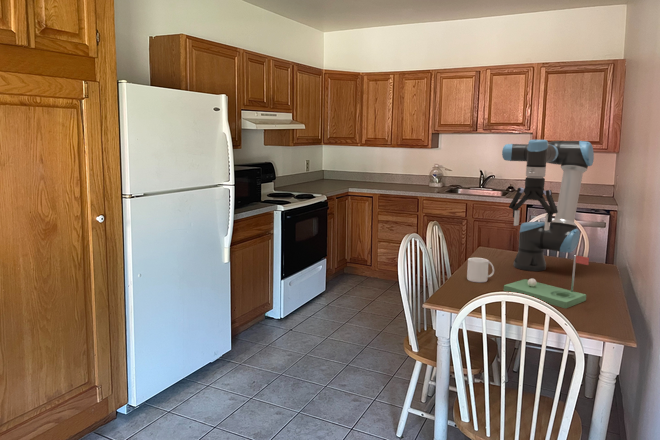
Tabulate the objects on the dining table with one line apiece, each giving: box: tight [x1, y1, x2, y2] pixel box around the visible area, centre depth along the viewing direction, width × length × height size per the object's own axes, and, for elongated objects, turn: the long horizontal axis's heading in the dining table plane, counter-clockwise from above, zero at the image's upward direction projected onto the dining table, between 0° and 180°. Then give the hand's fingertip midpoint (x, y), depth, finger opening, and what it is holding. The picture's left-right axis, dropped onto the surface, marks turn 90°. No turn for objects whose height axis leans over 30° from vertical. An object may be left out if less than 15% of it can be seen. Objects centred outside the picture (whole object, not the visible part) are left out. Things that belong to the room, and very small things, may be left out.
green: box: [503, 278, 587, 309], centre depth 205 cm, size 27×16×2 cm, turn 37°
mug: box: [466, 257, 495, 283], centre depth 226 cm, size 12×9×9 cm
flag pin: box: [570, 254, 590, 292], centre depth 200 cm, size 6×1×18 cm, turn 37°
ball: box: [527, 277, 538, 287], centre depth 209 cm, size 4×4×4 cm
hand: (531, 227), depth 209 cm, fingers open, 13 cm apart
